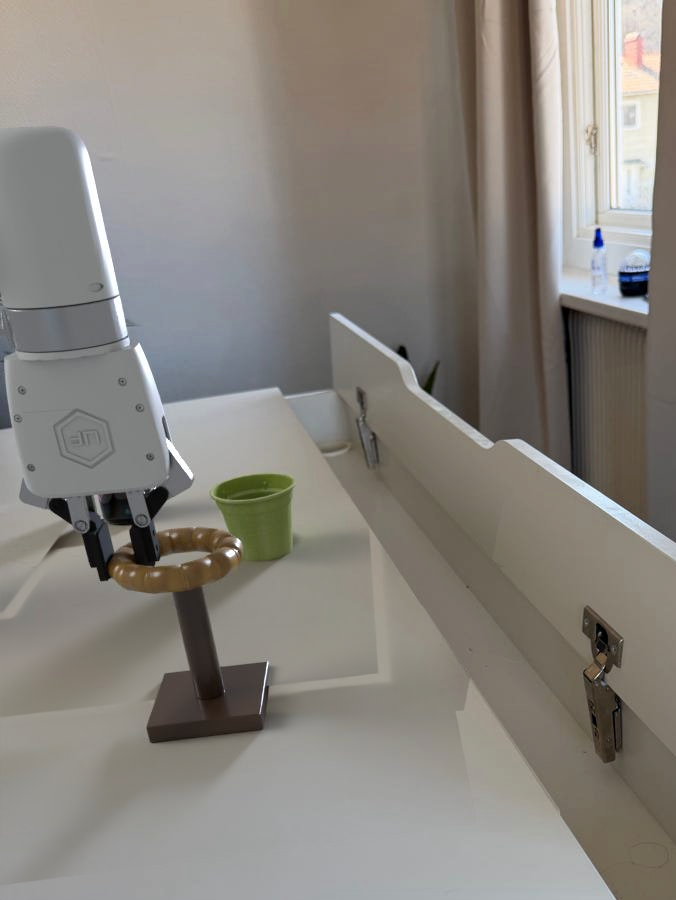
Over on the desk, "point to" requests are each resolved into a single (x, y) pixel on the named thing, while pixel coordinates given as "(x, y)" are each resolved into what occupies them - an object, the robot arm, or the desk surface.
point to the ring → (180, 576)
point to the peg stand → (206, 684)
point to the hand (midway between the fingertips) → (128, 570)
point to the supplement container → (115, 508)
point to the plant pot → (258, 513)
